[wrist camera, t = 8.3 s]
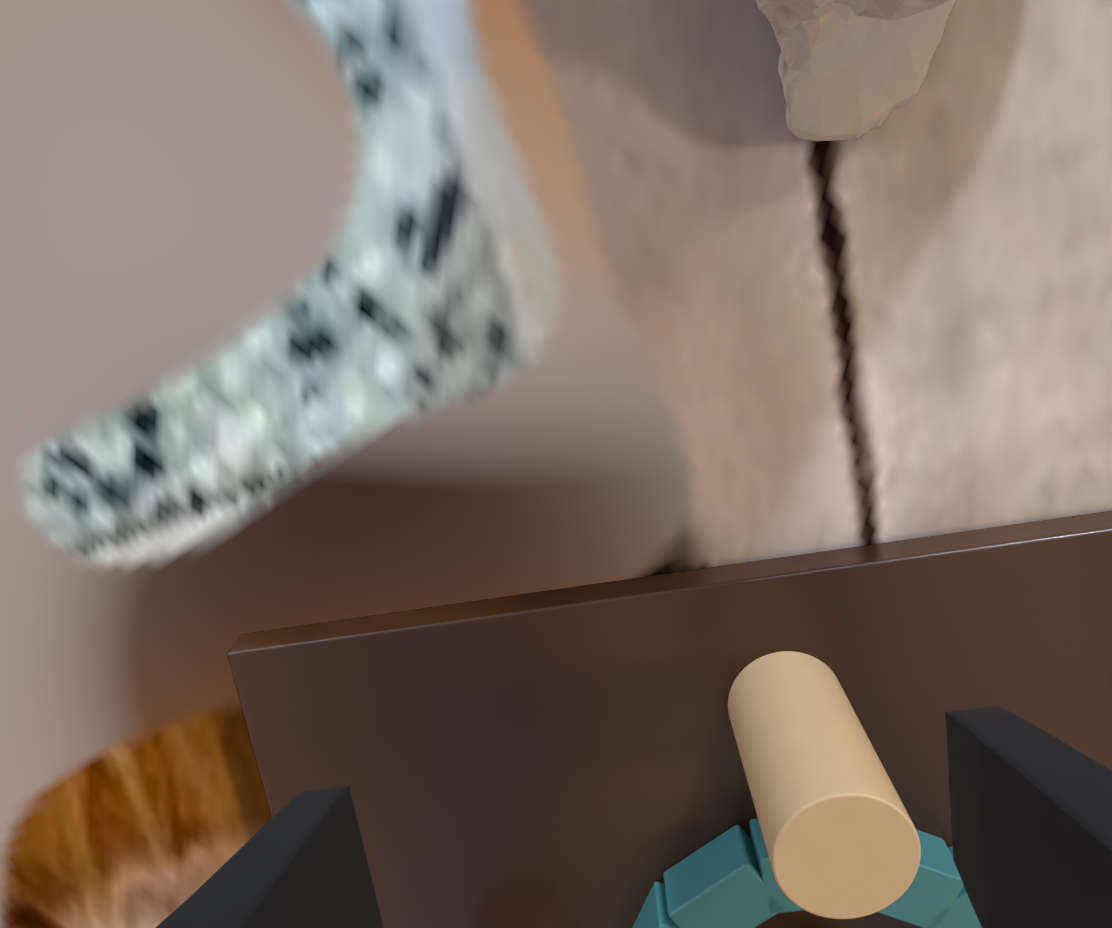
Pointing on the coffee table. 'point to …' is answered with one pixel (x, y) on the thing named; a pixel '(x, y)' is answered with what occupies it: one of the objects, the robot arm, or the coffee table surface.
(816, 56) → the decorative stone
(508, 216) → the coffee table surface
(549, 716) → the rack
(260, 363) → the coffee table surface
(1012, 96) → the coffee table surface
